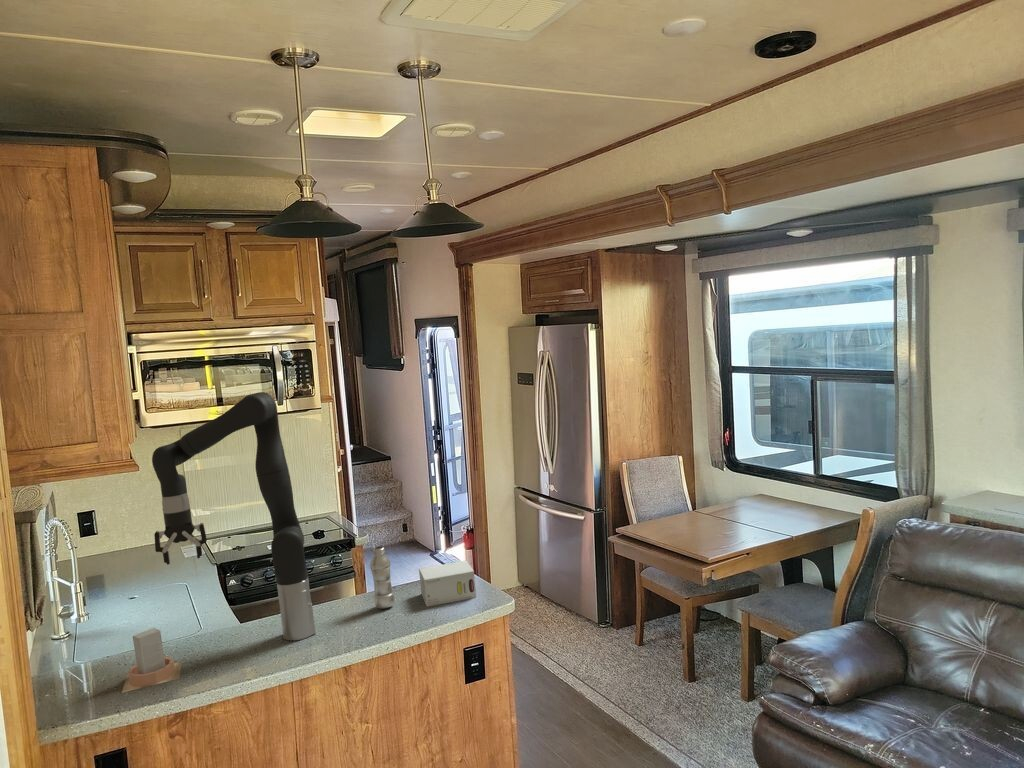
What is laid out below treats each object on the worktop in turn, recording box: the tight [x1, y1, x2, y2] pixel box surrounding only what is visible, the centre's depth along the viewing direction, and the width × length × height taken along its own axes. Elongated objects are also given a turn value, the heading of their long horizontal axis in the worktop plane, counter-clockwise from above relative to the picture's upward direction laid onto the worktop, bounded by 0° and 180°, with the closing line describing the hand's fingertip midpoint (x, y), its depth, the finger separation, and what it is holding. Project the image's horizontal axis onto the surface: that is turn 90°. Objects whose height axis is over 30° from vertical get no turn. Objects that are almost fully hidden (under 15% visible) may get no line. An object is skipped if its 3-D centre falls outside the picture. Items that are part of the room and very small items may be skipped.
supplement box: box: [418, 560, 477, 607], centre depth 238 cm, size 17×13×9 cm
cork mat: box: [121, 661, 182, 693], centre depth 197 cm, size 14×12×1 cm
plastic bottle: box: [369, 545, 396, 610], centre depth 233 cm, size 6×7×20 cm
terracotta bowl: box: [128, 656, 175, 687], centre depth 197 cm, size 11×11×3 cm
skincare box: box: [132, 627, 166, 674], centre depth 197 cm, size 6×4×12 cm
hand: (183, 560), depth 218 cm, fingers open, 8 cm apart
